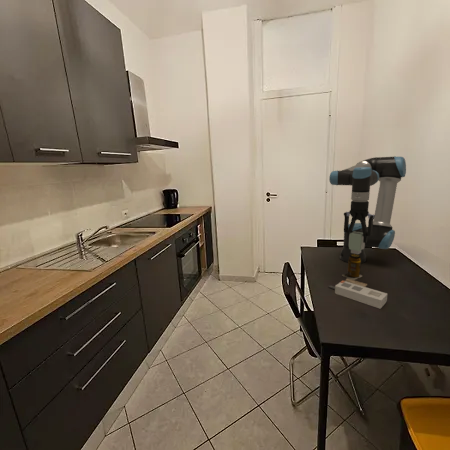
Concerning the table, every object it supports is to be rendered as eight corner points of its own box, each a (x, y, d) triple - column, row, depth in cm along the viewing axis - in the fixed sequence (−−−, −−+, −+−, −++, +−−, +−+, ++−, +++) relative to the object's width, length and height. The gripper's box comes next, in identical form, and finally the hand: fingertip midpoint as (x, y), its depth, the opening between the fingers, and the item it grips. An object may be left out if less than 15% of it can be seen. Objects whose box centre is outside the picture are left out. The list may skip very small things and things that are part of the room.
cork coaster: (347, 279, 140) (347, 278, 140) (367, 285, 133) (367, 284, 133) (339, 285, 134) (339, 284, 133) (359, 292, 126) (359, 291, 126)
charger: (352, 250, 132) (354, 231, 130) (363, 252, 129) (364, 232, 126) (348, 252, 129) (350, 233, 127) (359, 255, 125) (360, 234, 123)
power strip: (325, 290, 130) (325, 282, 129) (332, 284, 135) (332, 277, 134) (380, 308, 112) (381, 299, 111) (386, 301, 117) (387, 293, 116)
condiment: (362, 276, 143) (364, 255, 140) (354, 280, 139) (355, 259, 136) (350, 271, 149) (351, 252, 146) (341, 275, 145) (342, 255, 142)
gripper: (337, 200, 127) (334, 245, 132) (378, 203, 114) (373, 253, 119) (344, 198, 132) (341, 242, 137) (383, 201, 119) (379, 249, 124)
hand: (356, 247), depth 128 cm, fingers closed on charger, 5 cm apart
